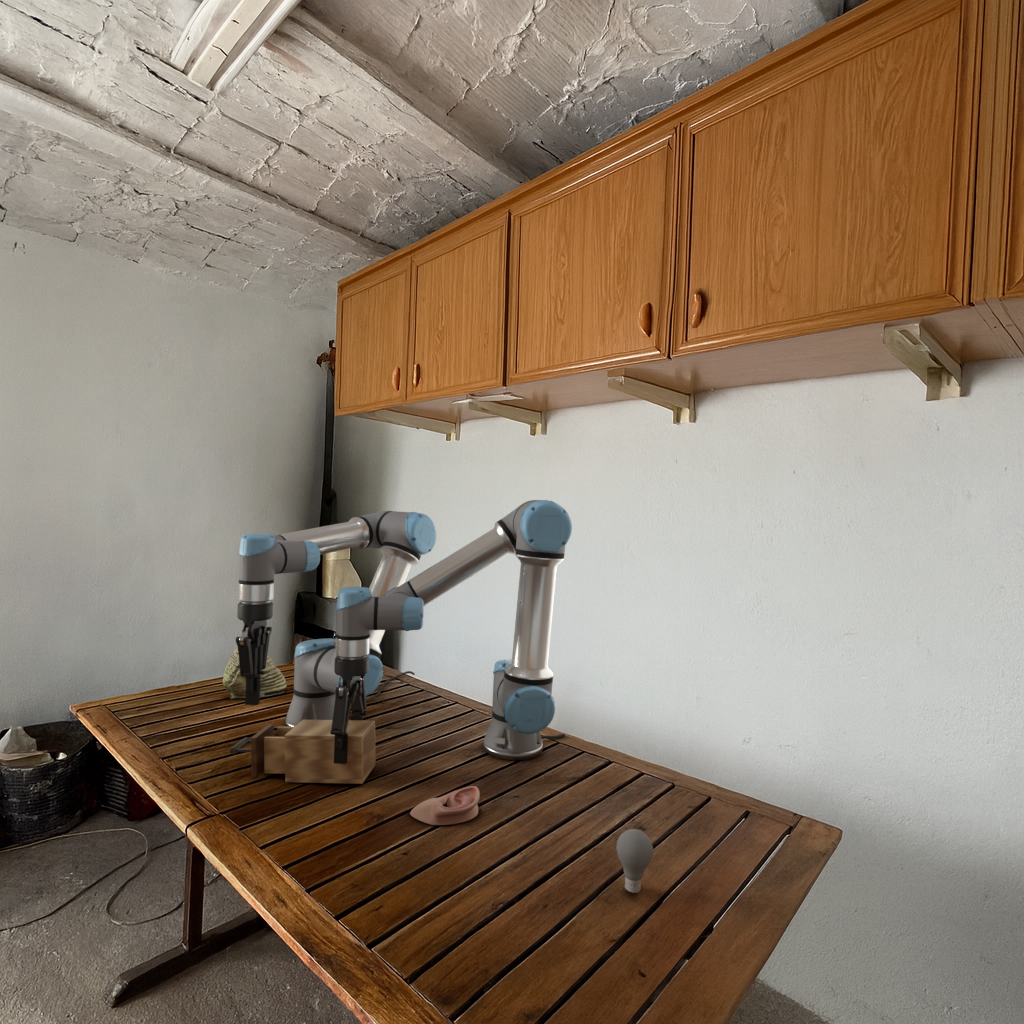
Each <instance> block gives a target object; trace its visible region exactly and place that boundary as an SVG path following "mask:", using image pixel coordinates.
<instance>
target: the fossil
mask: <svg viewBox="0 0 1024 1024" xmlns="http://www.w3.org/2000/svg"><path fill="white" fill-rule="evenodd" d="M262 671H265V674H264V675H263V674H260V698H264V697H271V696H275V695H281V694H284V693H285V691H286V689H287V687H288V686H287V680H286V678H285V676H284V674H283V673H282V672H281V669H279V668H278V667H277V665H276V663H275V662H274V660H273V659H272V658H271V657H270V656H269V655H268V654H267V661H266V668H265V669H262ZM222 676H223V677H222V685H223V687H224V688H225V690H226V691H228V693H229V698H230V699H245V690H246V677H242V676H241V675H240V665H239V654H238V647H237V648H236V649H235V650H233V651H232V653H231V656H230V657H229V659H228V660H227V663H226V666H225V668H224V671H223V675H222Z"/></svg>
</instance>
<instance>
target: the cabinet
mask: <svg viewBox="0 0 1024 1024" xmlns="http://www.w3.org/2000/svg"><path fill="white" fill-rule="evenodd" d="M331 728H332V720H302V721H301V722H300V723H298V724H297V725H296V726H295V727H294V728H293V729H291V730H290V731H289V732H288V733H287V734H286V735H285V781H284V782H285V783H302V784H303V783H306V784H308V783H309V784H351V785H353V784H355V785H362V784H364V782H365V781H366V780H367V778H368V776H369V775H370V774H371V772H372V771H373V769H374V768H375V767H376V765H377V764H376V762H377V760H376V757H377V756H376V754H377V753H376V720H364V719H363V720H351V719H349V721H348V726H347V733H348V748H347V763H346V764H338V763H334V742H335V735H332V734H330V731H331ZM338 729H339V728H338Z"/></svg>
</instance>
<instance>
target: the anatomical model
mask: <svg viewBox="0 0 1024 1024" xmlns="http://www.w3.org/2000/svg"><path fill="white" fill-rule="evenodd" d="M480 794H481V793H480V789H479V788H478V786H475V785H471V786H465V787H462V788H459V789H456V790H454V791H451V792H449V793H447V794H444V795H442V796H439V797H432V798H429V799H426V800H424V801H422V802H420V803H419V804H417V805H415V806H414V808H412V809H411V811H410V812H409V814H410V816H411V817H412V818H414V819H415V820H417V821H419V822H422V823H425V824H427V825H431V826H446V825H456V824H460V823H465V822H468V821H470V820H472V819H474V818H476V817H477V816H478V814H479V805H478V803H479V801H480V796H481V795H480Z"/></svg>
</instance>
